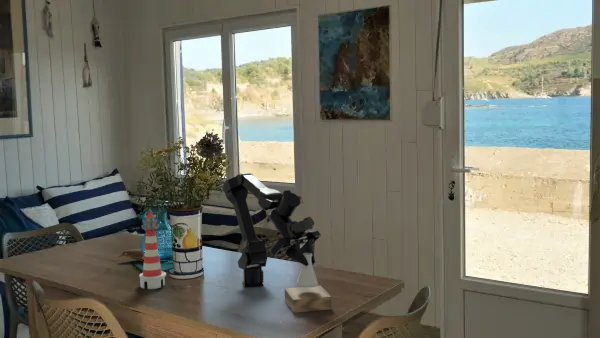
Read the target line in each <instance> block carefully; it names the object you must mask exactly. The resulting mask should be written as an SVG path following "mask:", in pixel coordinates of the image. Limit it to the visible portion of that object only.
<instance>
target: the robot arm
mask: <svg viewBox="0 0 600 338" xmlns="http://www.w3.org/2000/svg"><path fill="white" fill-rule="evenodd" d="M222 190H223V193H224V195H225V197H226V199H227V201H229V202H230V203H231V204H232V205H233V209H234V212H235V216H236V219H237V223H238V227H239V230H240V234H241V237H242V242H243V243H242V246H241V249H240V250H241V254H240V255H241V256H240V257H239V259H238V261H237V265H238V266H237V267H238V268H239V269H242V281H241V283H242V285H243V287H244V288H251V287H252V288H253V287H263V286H264V284H263V283H264V270H263V267H266V265H267V263H268V262H267V261H268V256H269V255H268V250H267V248H266V244H265V241H264V240H262V239H261V240H260V238H259V237H258V236H257V234H256V233H257V232H256V230H255V227H254V223H253V219H252V215H251V212H250V209H249V206H248V202H247V199H248V196H249V192H250V193H251V194H252V195H253V196H254V197H255V198H257V204H258V206H259V207H260V208H261V209H262V210H263V211H271V212H270V213H267V217H266V223H267V224H268V223H269V224H270V223H272V224H273V225H274V228H275V229H276V230H277V233H276V236H277V237H280V236H281V238H278V239H277V240H276V242H275V243H274V244H273V245H272V246H271V247H270V252H271V253H272V255H273V257H278V256H280V255H281V254H282V250H284V251H285V253H284V254H283V255H284V256H286V257H288V258H291V259H293V260H295V261H297V262H298V263H300V264H302V265H305V266H308V265H309V264H308V262H307V260H306V258H305V256H304V255H303V253H312V257H311V261H312V265H314V264H315V263H316V259H315V255H314V252H313V246H314V244H315V243H316V242H317V241H318V240H319V239H320V238H321V237H322V234H321V233H320V231H319V230H318V229H317V230H316V229H314V226H315V221H314V219H313V218H312V217H311V216H306V217H304V218H303V220H299V221H297V220H294V221H293V219H292V218H291V217H292V216H293V214H295V211H296V210H297V209H298V207H299V206H300V205H301V198H300V197H299V196H298V195H297V194H295V193H294V192H292V191H291V190H290V189H285V190H284V191H282V192H280V190H278V189H275V188H269V187H267V185H265V184H263V183H262V182H261V181H260V180H259V179H257V177H255V176H254V174H253V173H251V172H240V173H239V174H237V175H236V176H233V177H231V178H229V179H226V180H225V181H224V183H223V185H222ZM312 229H313V230H312ZM308 230H310V231H308ZM306 231H307V233H306Z"/></svg>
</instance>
